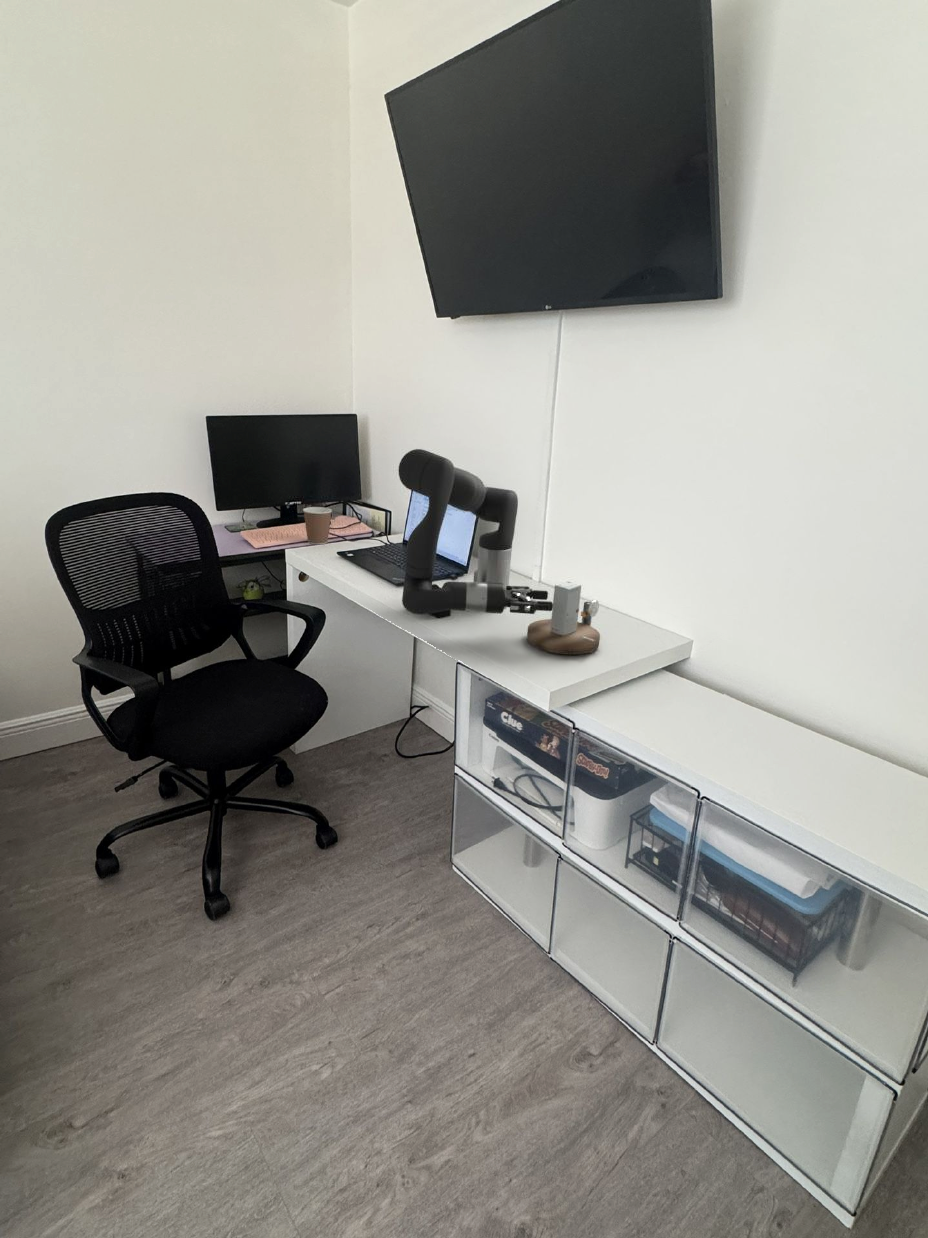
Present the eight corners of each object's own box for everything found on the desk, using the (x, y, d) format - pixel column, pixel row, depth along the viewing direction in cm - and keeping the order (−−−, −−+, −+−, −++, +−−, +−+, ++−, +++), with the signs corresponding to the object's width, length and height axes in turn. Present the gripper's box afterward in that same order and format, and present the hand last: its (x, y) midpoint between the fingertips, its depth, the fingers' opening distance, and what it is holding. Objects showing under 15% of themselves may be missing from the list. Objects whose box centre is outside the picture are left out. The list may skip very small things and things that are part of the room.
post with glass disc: (586, 636, 182) (590, 602, 178) (576, 633, 183) (580, 599, 180) (595, 631, 185) (599, 598, 182) (585, 628, 187) (589, 595, 184)
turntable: (512, 639, 174) (513, 630, 173) (551, 622, 188) (552, 613, 187) (575, 660, 164) (577, 650, 163) (611, 641, 177) (612, 632, 176)
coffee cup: (336, 540, 260) (336, 508, 256) (325, 546, 251) (324, 513, 247) (310, 537, 262) (310, 505, 258) (298, 543, 253) (297, 510, 249)
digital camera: (454, 615, 191) (455, 590, 188) (439, 619, 187) (441, 594, 185) (428, 605, 198) (429, 581, 195) (414, 608, 194) (415, 584, 192)
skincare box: (563, 636, 171) (569, 589, 167) (548, 631, 174) (553, 584, 170) (577, 630, 176) (583, 584, 172) (562, 625, 179) (567, 580, 175)
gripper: (487, 591, 163) (555, 595, 164) (483, 574, 177) (547, 577, 178) (484, 621, 166) (552, 625, 167) (481, 602, 179) (544, 605, 180)
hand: (549, 600), depth 172 cm, fingers open, 8 cm apart
